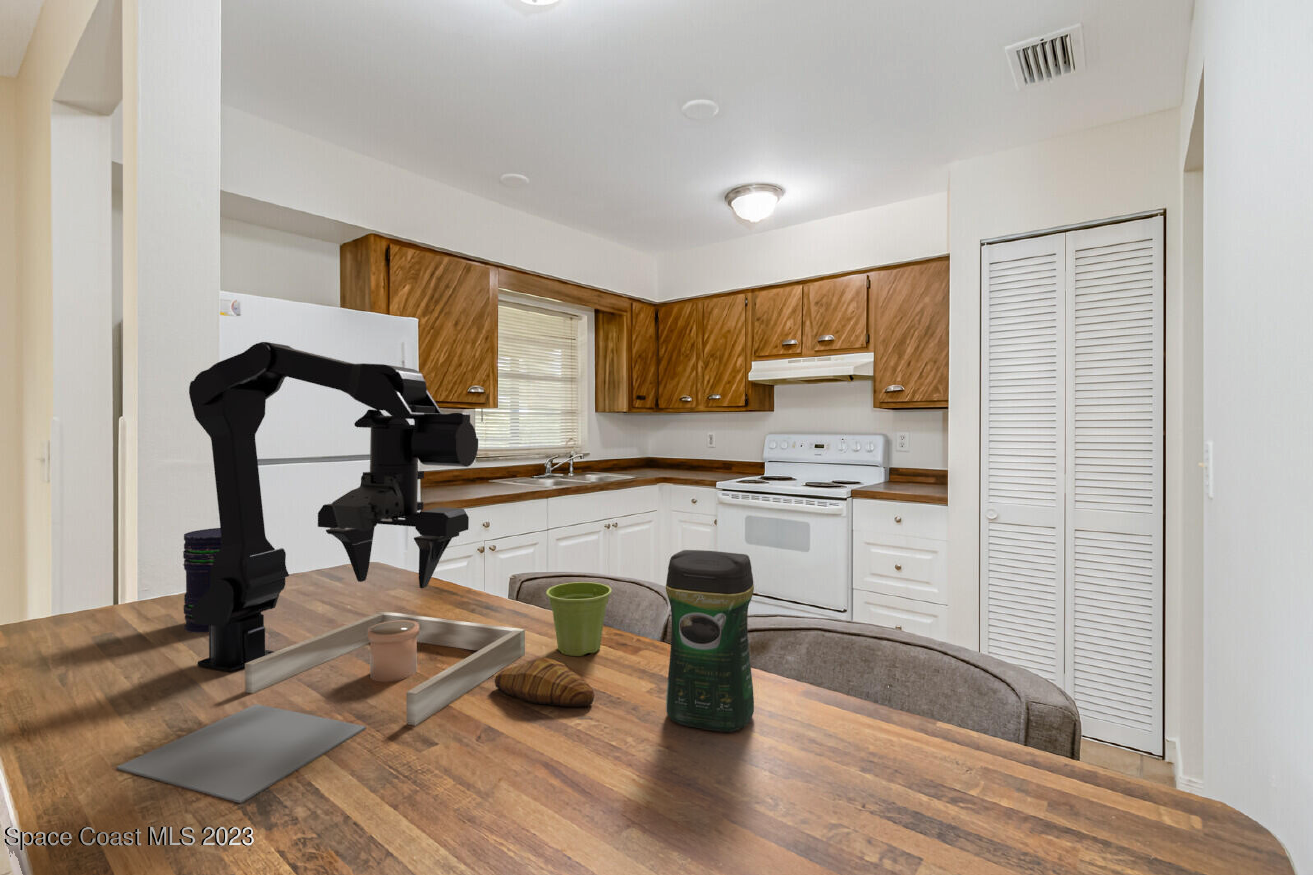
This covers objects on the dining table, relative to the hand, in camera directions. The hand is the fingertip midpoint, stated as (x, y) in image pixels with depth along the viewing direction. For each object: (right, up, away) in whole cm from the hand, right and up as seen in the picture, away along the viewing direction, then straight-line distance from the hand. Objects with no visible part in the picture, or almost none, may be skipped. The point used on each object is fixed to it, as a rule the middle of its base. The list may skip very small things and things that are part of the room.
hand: (392, 584), depth 80 cm
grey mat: (-7, -12, -18) cm, 23 cm away
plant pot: (+23, -12, +10) cm, 28 cm away
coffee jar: (+40, -13, -11) cm, 43 cm away
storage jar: (-37, -12, +21) cm, 44 cm away
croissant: (+21, -13, -6) cm, 25 cm away
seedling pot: (0, -12, +1) cm, 12 cm away
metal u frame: (0, -12, +1) cm, 12 cm away
